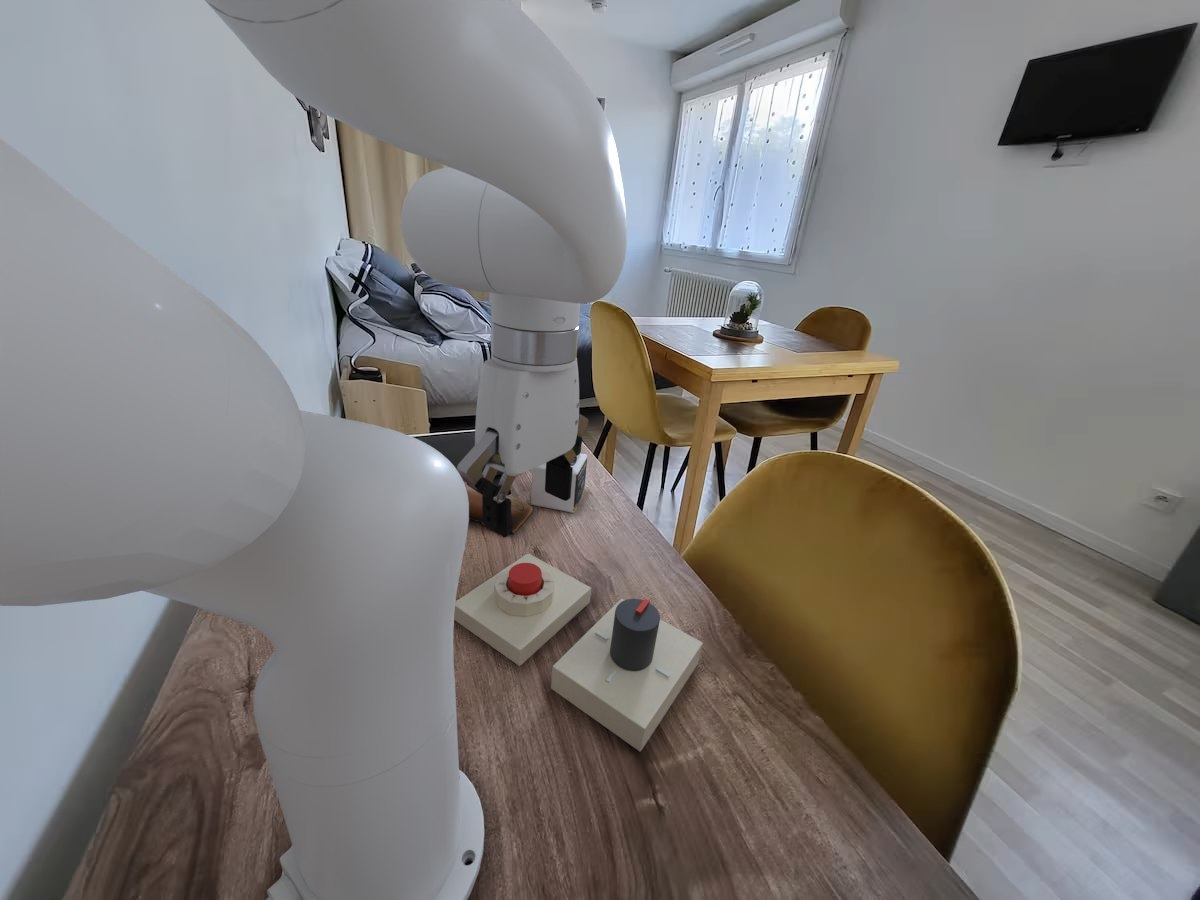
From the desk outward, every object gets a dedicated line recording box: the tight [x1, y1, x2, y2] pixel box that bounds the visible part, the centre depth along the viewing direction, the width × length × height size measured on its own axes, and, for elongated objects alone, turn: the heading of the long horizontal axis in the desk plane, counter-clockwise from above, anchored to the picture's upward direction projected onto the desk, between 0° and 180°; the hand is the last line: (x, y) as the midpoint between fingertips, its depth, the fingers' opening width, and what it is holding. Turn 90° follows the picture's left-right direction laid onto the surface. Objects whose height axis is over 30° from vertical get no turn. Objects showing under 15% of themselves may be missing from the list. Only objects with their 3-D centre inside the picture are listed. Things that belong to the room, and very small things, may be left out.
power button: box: [508, 563, 542, 596], centre depth 53 cm, size 4×4×2 cm
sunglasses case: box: [463, 481, 534, 534], centre depth 73 cm, size 18×7×7 cm, turn 72°
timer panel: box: [550, 598, 704, 752], centre depth 48 cm, size 12×10×3 cm
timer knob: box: [610, 597, 661, 671], centre depth 46 cm, size 4×4×5 cm
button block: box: [454, 552, 592, 667], centre depth 54 cm, size 12×10×4 cm
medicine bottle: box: [530, 443, 588, 514], centre depth 76 cm, size 7×7×12 cm
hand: (529, 511), depth 50 cm, fingers open, 8 cm apart
